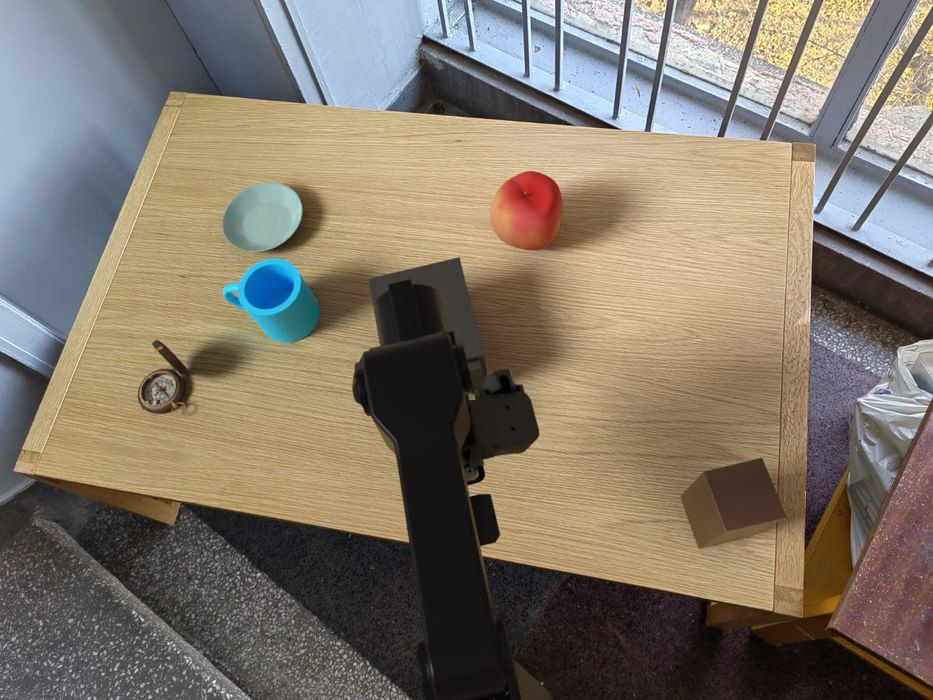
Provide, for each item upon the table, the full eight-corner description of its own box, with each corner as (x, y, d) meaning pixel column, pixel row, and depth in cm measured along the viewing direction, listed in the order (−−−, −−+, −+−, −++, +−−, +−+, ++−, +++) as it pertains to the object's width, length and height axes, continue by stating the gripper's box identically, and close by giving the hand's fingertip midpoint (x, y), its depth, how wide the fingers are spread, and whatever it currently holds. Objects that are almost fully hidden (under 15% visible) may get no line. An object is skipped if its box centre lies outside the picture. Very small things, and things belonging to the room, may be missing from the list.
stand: (750, 536, 76) (786, 517, 65) (698, 548, 76) (725, 531, 65) (730, 484, 78) (762, 457, 67) (680, 496, 78) (703, 471, 67)
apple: (524, 195, 97) (523, 148, 88) (577, 230, 94) (581, 185, 85) (479, 239, 95) (473, 196, 86) (531, 277, 92) (531, 236, 83)
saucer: (226, 265, 97) (219, 256, 95) (229, 197, 102) (223, 188, 100) (307, 253, 97) (302, 245, 95) (306, 186, 101) (302, 176, 99)
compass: (131, 396, 90) (99, 375, 84) (177, 353, 92) (149, 330, 85) (167, 433, 87) (137, 415, 81) (213, 389, 89) (188, 368, 83)
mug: (326, 292, 94) (308, 261, 86) (311, 346, 91) (290, 319, 83) (245, 283, 96) (221, 252, 88) (227, 335, 92) (200, 308, 85)
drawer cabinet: (488, 381, 86) (483, 354, 78) (399, 402, 86) (385, 378, 78) (466, 290, 92) (459, 256, 84) (382, 310, 92) (367, 278, 84)
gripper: (559, 510, 52) (554, 540, 67) (503, 302, 60) (509, 369, 74) (418, 544, 52) (444, 566, 67) (380, 331, 60) (410, 392, 74)
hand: (455, 468), depth 70 cm, fingers closed
